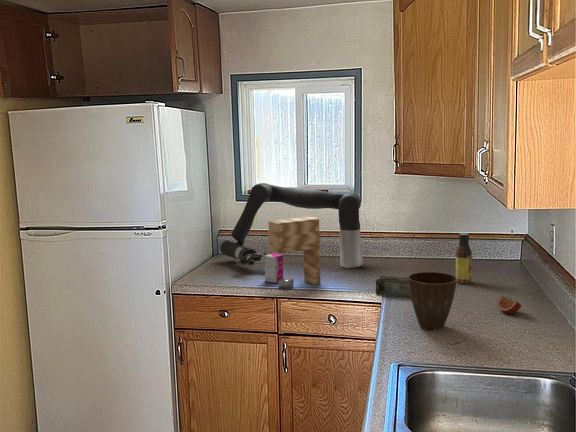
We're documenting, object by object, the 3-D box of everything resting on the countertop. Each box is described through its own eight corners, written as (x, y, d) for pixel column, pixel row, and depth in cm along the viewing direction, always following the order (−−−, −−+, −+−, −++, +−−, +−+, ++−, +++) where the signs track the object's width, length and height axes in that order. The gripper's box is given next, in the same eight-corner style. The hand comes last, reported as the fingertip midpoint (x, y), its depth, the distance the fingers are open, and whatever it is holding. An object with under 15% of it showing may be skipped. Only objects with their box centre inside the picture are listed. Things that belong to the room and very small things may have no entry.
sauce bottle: (472, 284, 235) (473, 235, 232) (456, 284, 236) (456, 235, 233) (470, 280, 241) (471, 232, 238) (454, 280, 242) (455, 232, 239)
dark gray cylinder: (288, 284, 243) (288, 277, 243) (296, 287, 238) (296, 280, 238) (276, 286, 241) (275, 279, 240) (283, 290, 235) (283, 282, 235)
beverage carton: (379, 289, 232) (379, 273, 231) (429, 293, 225) (429, 276, 224) (375, 295, 225) (375, 278, 224) (426, 299, 218) (426, 281, 217)
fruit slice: (492, 310, 203) (492, 296, 202) (508, 307, 205) (509, 293, 204) (509, 317, 195) (509, 302, 194) (525, 314, 197) (526, 300, 196)
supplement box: (275, 284, 244) (274, 257, 242) (264, 282, 248) (263, 255, 246) (284, 281, 249) (283, 254, 247) (273, 279, 252) (272, 252, 250)
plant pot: (425, 315, 199) (425, 269, 196) (465, 325, 188) (466, 276, 185) (398, 326, 188) (398, 278, 186) (439, 338, 178) (439, 286, 175)
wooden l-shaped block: (310, 279, 250) (308, 216, 246) (321, 283, 242) (319, 218, 238) (270, 286, 240) (268, 221, 236) (280, 291, 233) (278, 223, 229)
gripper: (231, 249, 266) (246, 255, 252) (259, 245, 273) (276, 251, 259) (232, 265, 268) (247, 272, 254) (260, 261, 274) (276, 267, 260)
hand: (262, 261), depth 256 cm, fingers open, 8 cm apart
